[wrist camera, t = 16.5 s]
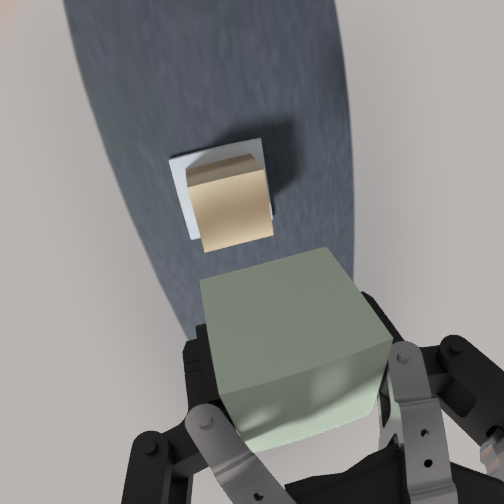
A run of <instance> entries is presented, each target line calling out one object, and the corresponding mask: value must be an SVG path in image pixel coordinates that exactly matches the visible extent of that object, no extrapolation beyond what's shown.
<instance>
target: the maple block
mask: <svg viewBox="0 0 504 504" xmlns="http://www.w3.org/2000/svg"><path fill="white" fill-rule="evenodd" d="M185 171H186V181H187V189H188V192H189V196H190V200H191V204H192V207H193V211H194V215H195V218H196V222H197V226H198V229H199V233H200V237H201V240H202V244H203V247H204V251H205V252H209V251H213V250H217V249H221V248H224V247H228V246H232V245H236V244H240V243H244V242H248V241H252V240H256V239H260V238H264V237H267V236H271V235H273V227H272V220H271V213H270V206H269V199H268V192H267V186H266V179H265V172H264V169H263V168H262V166H261V165H260V164H259V163H258V162H257V160H256V159H255V158H254V157H253V156H252V155H251V154H246V155H241V156H237V157H232V158H228V159H224V160H219V161H215V162H211V163H207V164H203V165H199V166H195V167H191V168H187V169H185Z"/></svg>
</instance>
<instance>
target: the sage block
mask: <svg viewBox="0 0 504 504" xmlns="http://www.w3.org/2000/svg"><path fill="white" fill-rule="evenodd" d="M199 282H200V289H201V295H202V302H203V308H204V314H205V320H206V326H207V332H208V338H209V344H210V349H211V355H212V360H213V366H214V371H215V376H216V382H217V387H218V392H219V396H220V398H221V400H222V402H223V404H224V406H225V407H226V409H227V411H228V413H229V415H230V417H231V419H232V421H233V423H234V425H235V427H236V429H237V431H238V432H239V434H240V436H241V438H242V440H243V441H244V442H245V444H246V445H247V446H248V447H249V449H250V450H251V451H252V452H253V453H255V452H259V451H263V450H267V449H271V448H274V447H278V446H281V445H285V444H288V443H291V442H295V441H298V440H301V439H304V438H308V437H311V436H313V435H317V434H319V433H322V432H325V431H328V430H331V429H334V428H336V427H339V426H342V425H344V424H347V423H349V422H352V421H354V420H357V419H359V418H362V417H364V416H366V415H369V414H371V411H372V408H373V405H374V402H375V399H376V396H377V393H378V390H379V387H380V383H381V380H382V377H383V374H384V370H385V367H386V363H387V360H388V356H389V352H390V349H391V345H392V341H393V337H392V336H391V334H390V333H389V331H388V330H387V329H386V327H385V326H384V324H383V323H382V321H381V320H380V319H379V317H378V316H377V314H376V313H375V312H374V310H373V309H372V307H371V306H370V305H369V303H368V302H367V300H366V299H365V298H364V296H363V295H362V294H361V292H360V291H359V290H358V288H357V287H356V286H355V284H354V283H353V281H352V280H351V279H350V277H349V276H348V275H347V273H346V272H345V271H344V269H343V268H342V267H341V265H340V264H339V263H338V261H337V260H336V259H335V258H334V256H333V255H332V254H331V252H330V251H329V250H328V248H327V247H322V248H318V249H315V250H311V251H307V252H304V253H300V254H296V255H293V256H289V257H285V258H281V259H278V260H274V261H270V262H267V263H263V264H259V265H255V266H252V267H248V268H244V269H240V270H236V271H233V272H229V273H225V274H221V275H217V276H214V277H210V278H206V279H202V280H199Z"/></svg>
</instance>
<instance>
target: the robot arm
mask: <svg viewBox="0 0 504 504" xmlns="http://www.w3.org/2000/svg"><path fill="white" fill-rule="evenodd" d="M361 294H362V295H363V296H364V298H365V299H366V300H367V302H368V303H369V305H370V306H371V307H372V309H373V310H374V312H375V313H376V314H377V316H378V317H379V319H380V320H381V321H382V323H383V324H384V326H385V327H386V329H387V330H388V331H389V333H390V334H391V336H392V337H393V341H392V345H391V349H390V352H389V356H388V360H387V363H386V367H385V370H384V374H383V377H382V380H381V383H380V387H379V390H378V393H377V402H378V412H379V423H380V437H379V451H377V452H374V453H372V454H370V455H368V456H367V457H365V458H364V459H363V460H361V461H360V462H358V463H357V464H355V465H354V466H353V467H351V468H350V469H348V470H347V471H345V472H343V473H337V474H329V475H320V476H312V477H309V478H306V479H302V480H299V481H296V482H292V483H289V484H285V485H284V486H285V490H284V489H283V487H282V486H281V485H280V484H279V483H278V482H277V480H276V479H275V478H274V477H273V476H272V474H271V473H270V472H269V471H268V469H267V468H266V467H265V466H264V465H263V463H262V462H261V461H260V460H259V459H258V457H257V456H256V455H255V454H254V453H253V452H252V451H251V450H250V449H249V447H248V446H247V445H246V444H245V442H244V441H243V440H242V438H241V437H240V436H239V435H238V433H237V431H236V427H235V425H234V423H233V421H232V419H231V417H230V415H229V413H228V411H227V409H226V407H225V406H224V404H223V402H222V400H221V398H220V396H219V392H218V387H217V382H216V376H215V371H214V366H213V360H212V355H211V349H210V344H209V338H208V332H207V326H206V323H205V324H201V325H197V326H196V334H197V339H194V340H190V341H186V344H185V347H184V350H183V362H184V372H185V381H186V390H187V397H188V413H187V415H186V417H185V419H184V420H183V421H182V422H181V423H180V424H179V425H177V426H176V427H174V428H172V429H170V430H168V431H166V432H164V433H162V434H161V433H159V432H157V431H146V432H143V433H141V434H140V435H138V436H137V437H136V439H135V440H134V442H133V444H132V449H131V453H130V458H129V463H128V468H127V474H126V479H125V485H124V490H123V496H122V502H121V504H191V495H192V484H193V475H194V474H195V473H197V472H199V471H201V470H203V469H205V468H207V467H208V466H210V468H211V469H212V471H213V473H214V475H215V478H216V479H217V481H218V483H219V484H220V486H221V487H222V488H223V490H224V491H225V493H226V494H227V496H228V497H229V498H230V500H231V501H232V502H233V504H504V371H503V370H502V369H501V368H499V367H498V366H497V365H496V364H495V363H494V362H492V361H491V360H490V359H489V358H488V357H486V356H485V355H484V354H483V353H482V352H480V351H479V350H478V349H477V348H475V347H474V346H473V345H472V344H471V343H470V342H468V341H467V340H466V339H465V338H463V337H461V336H459V335H449V336H447V337H445V338H444V339H443V340H442V341H441V343H440V345H437V346H430V347H418V346H416V345H415V344H413V343H411V342H408V341H405V340H404V339H403V338H402V337H401V335H400V334H399V332H398V331H397V330H396V328H395V327H394V325H393V324H392V323H391V321H390V320H389V319H388V317H387V316H386V315H385V314H384V312H383V310H382V309H381V308H380V307H379V305H378V304H377V302H376V301H375V300H374V299H373V297H371V296H370V295H368V294H366V293H365V292H361ZM441 409H442V410H443V411H444V412H445V413H446V414H447V415H449V417H451V418H452V419H453V420H454V421H455V422H456V423H457V424H458V425H459V426H460V427H461V428H462V429H463V430H464V431H465V432H466V433H467V434H468V435H469V436H470V437H471V438H472V439H473V440H474V441H475V442H476V443H477V444H478V445H479V446H480V447H481V449H480V461H481V463H483V464H485V466H486V469H487V475H486V474H483V473H480V472H477V471H474V470H471V469H469V468H466V467H463V466H461V465H458V464H455V463H453V462H450V460H449V453H448V446H447V440H446V434H445V428H444V422H443V417H442V412H441Z"/></svg>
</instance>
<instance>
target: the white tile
mask: <svg viewBox="0 0 504 504" xmlns="http://www.w3.org/2000/svg"><path fill="white" fill-rule="evenodd" d="M246 154H251V155H252V156H253V157H254V158H255V159H256V160H257V162H258V163H259V164H260V165H261V166H262V168H263V169H264V172H265V179H266V186H267V192H268V199H269V206H270V213H271V219H273V216H272V209H271V202H270V195H269V188H268V182H267V175H266V168H265V162H264V155H263V149H262V142H261V138H255V139H250V140H245V141H241V142H236V143H231V144H227V145H222V146H218V147H214V148H210V149H205V150H201V151H197V152H193V153H189V154H185V155H182V156H178V157H174V158H170V159H169V164H170V167H171V171H172V175H173V178H174V182H175V186H176V189H177V193H178V196H179V200H180V203H181V207H182V210H183V214H184V217H185V221H186V224H187V228H188V231H189V234H190V238H191V240H193V239H196V238H200V233H199V229H198V226H197V222H196V218H195V215H194V211H193V207H192V204H191V200H190V196H189V192H188V189H187V181H186V171H185V169H187V168H191V167H195V166H199V165H203V164H207V163H211V162H215V161H219V160H224V159H228V158H232V157H237V156H241V155H246Z"/></svg>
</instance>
